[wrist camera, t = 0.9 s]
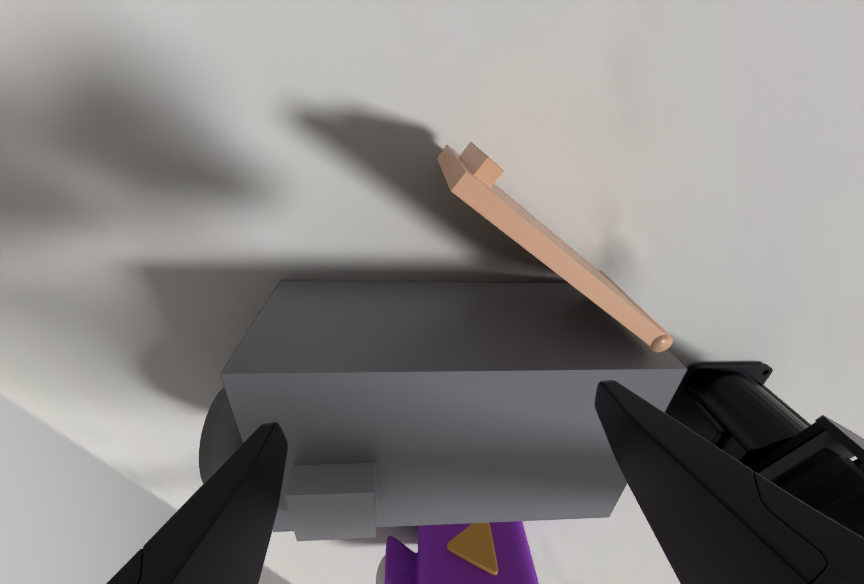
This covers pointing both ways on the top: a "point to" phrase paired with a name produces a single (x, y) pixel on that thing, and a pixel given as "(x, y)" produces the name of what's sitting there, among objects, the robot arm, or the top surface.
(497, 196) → the side door
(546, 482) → the block
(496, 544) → the toy camera
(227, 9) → the top surface
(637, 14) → the top surface
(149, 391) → the top surface
